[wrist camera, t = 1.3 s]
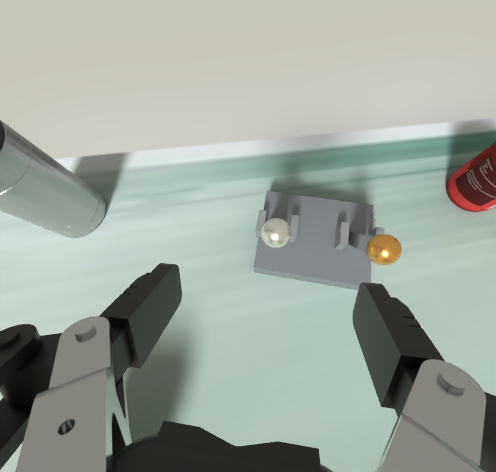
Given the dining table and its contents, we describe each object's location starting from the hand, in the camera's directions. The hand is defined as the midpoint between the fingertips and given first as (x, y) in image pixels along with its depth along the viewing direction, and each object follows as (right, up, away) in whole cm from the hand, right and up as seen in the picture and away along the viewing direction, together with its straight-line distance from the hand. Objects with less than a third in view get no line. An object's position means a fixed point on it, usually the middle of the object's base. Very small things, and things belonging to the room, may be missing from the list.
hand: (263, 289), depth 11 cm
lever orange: (+14, +2, +22) cm, 26 cm away
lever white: (+3, +4, +23) cm, 23 cm away
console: (+9, +1, +27) cm, 29 cm away
